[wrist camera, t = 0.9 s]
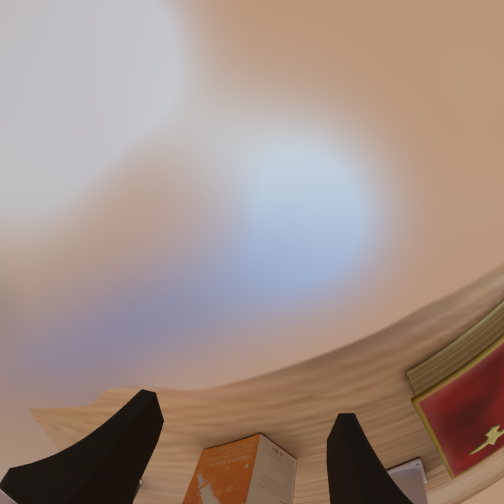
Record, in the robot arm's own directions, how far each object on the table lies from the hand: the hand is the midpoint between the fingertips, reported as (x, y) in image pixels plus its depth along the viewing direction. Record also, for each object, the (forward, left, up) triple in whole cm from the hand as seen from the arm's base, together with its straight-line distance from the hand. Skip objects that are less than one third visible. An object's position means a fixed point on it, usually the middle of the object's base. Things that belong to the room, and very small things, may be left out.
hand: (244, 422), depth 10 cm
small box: (-14, +10, -10) cm, 20 cm away
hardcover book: (-19, -13, -10) cm, 26 cm away
